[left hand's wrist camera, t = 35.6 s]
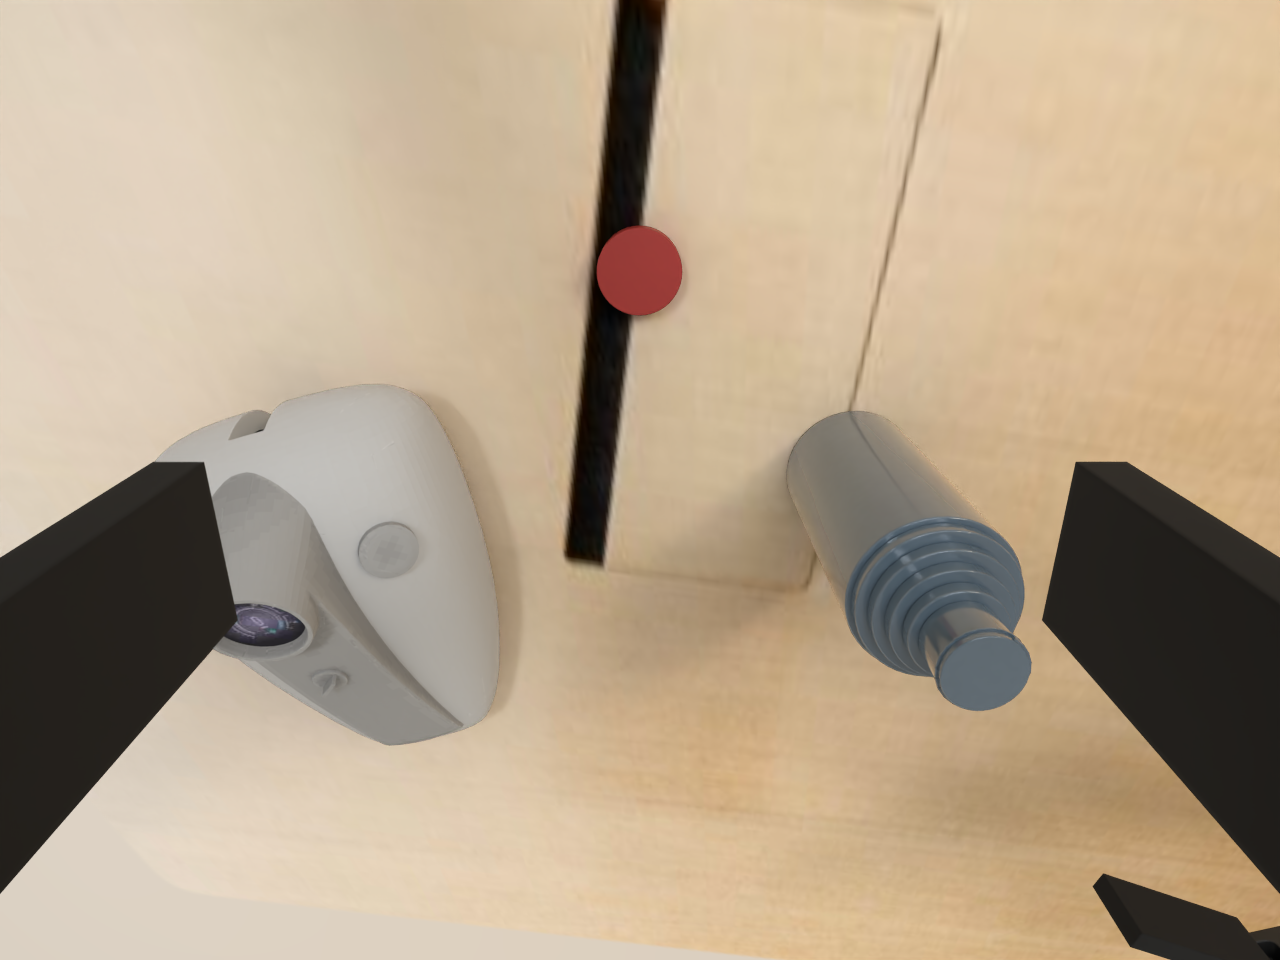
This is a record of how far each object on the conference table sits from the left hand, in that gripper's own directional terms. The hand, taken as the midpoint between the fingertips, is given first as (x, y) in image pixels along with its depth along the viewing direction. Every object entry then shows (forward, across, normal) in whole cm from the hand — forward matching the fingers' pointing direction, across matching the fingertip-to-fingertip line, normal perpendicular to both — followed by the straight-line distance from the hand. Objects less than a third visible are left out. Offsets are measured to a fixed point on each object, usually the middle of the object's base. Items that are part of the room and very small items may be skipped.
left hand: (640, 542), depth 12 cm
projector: (+34, -16, -18) cm, 41 cm away
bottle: (+34, +12, -12) cm, 38 cm away
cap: (+32, 0, 0) cm, 32 cm away
